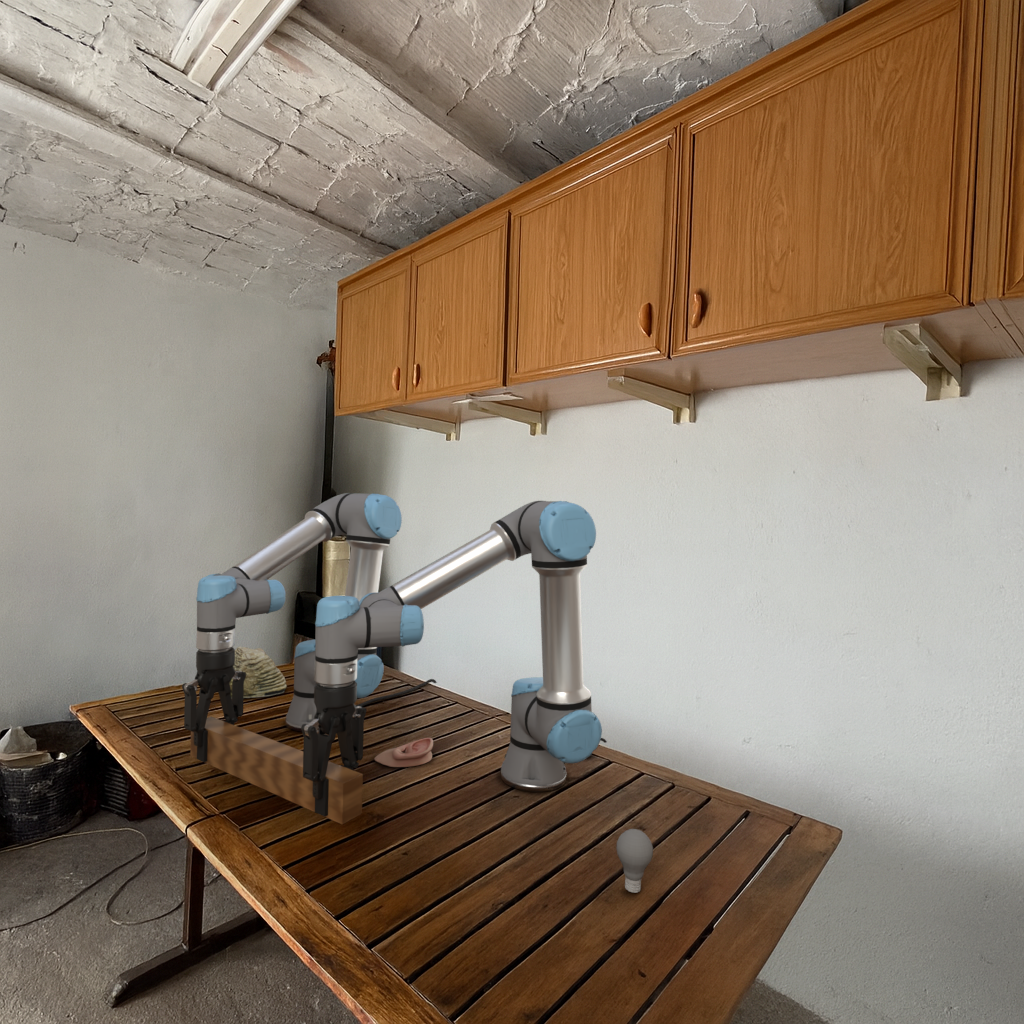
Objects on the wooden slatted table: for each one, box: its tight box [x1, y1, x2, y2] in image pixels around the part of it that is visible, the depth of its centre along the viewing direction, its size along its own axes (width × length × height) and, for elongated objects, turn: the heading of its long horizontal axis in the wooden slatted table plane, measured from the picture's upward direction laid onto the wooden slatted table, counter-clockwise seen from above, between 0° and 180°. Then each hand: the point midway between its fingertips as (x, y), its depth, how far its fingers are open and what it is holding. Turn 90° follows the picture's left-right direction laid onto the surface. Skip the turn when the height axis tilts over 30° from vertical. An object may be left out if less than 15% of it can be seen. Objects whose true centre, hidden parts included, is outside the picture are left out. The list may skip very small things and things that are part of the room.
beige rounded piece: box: [374, 737, 434, 768], centre depth 155 cm, size 13×4×12 cm
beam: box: [189, 716, 364, 825], centre depth 126 cm, size 47×5×7 cm, turn 57°
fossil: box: [229, 646, 288, 699], centre depth 198 cm, size 9×18×15 cm, turn 132°
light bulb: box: [615, 828, 654, 894], centre depth 106 cm, size 6×6×10 cm
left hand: (214, 755), depth 137 cm, fingers closed on beam, 5 cm apart
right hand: (333, 807), depth 116 cm, fingers closed on beam, 5 cm apart
